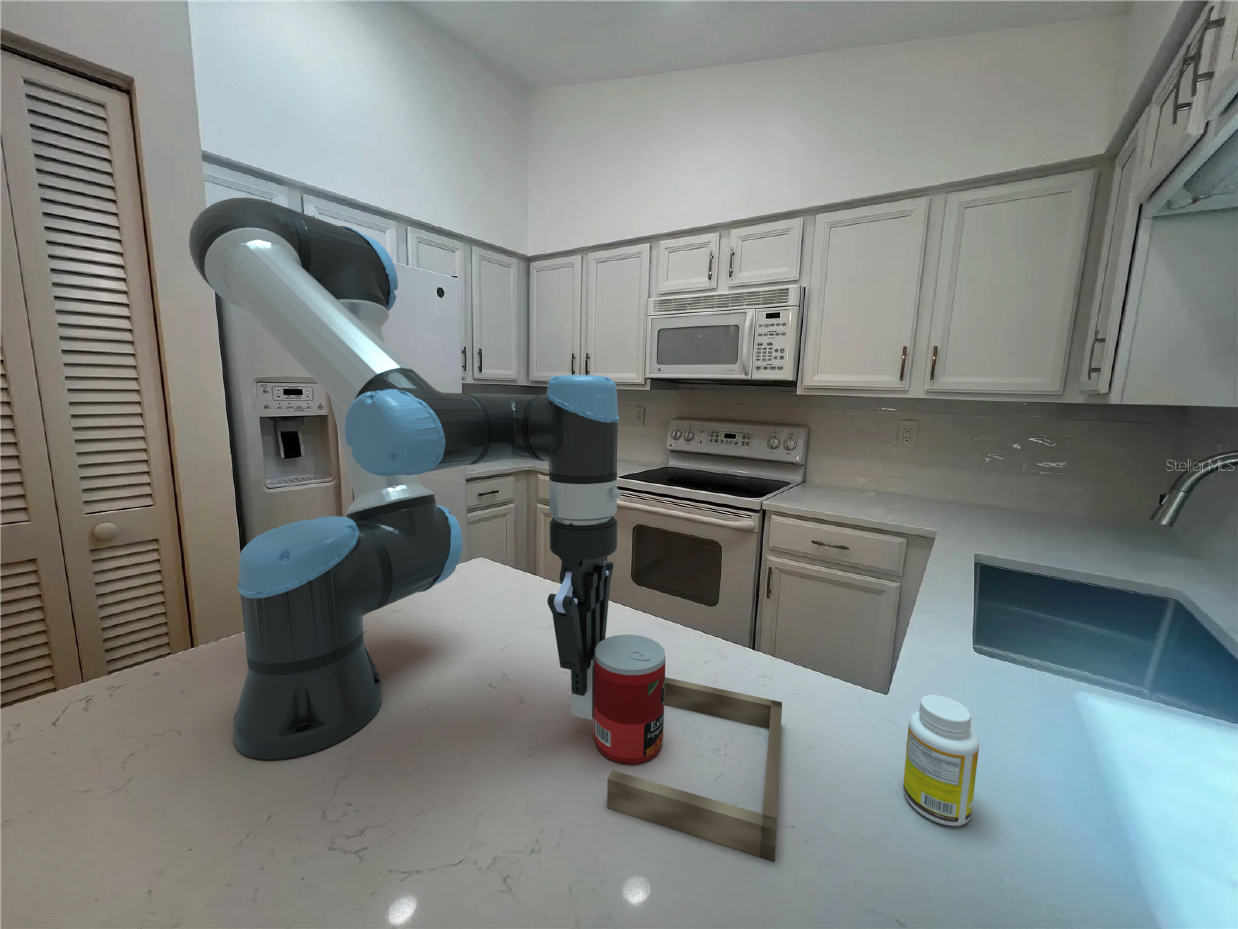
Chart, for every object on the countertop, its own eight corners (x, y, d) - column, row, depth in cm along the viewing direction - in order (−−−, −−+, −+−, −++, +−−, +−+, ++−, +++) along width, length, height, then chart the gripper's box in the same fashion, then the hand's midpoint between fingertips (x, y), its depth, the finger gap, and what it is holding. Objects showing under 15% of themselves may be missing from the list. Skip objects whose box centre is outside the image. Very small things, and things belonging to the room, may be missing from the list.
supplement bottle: (940, 780, 49) (950, 688, 48) (986, 827, 44) (998, 725, 42) (889, 783, 49) (898, 690, 47) (929, 832, 43) (940, 728, 42)
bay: (607, 807, 45) (607, 779, 45) (658, 697, 63) (659, 675, 62) (774, 861, 40) (776, 829, 40) (780, 725, 57) (782, 702, 57)
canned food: (659, 771, 50) (662, 673, 49) (585, 760, 51) (586, 664, 50) (666, 723, 57) (668, 637, 56) (601, 714, 59) (602, 630, 57)
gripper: (591, 535, 46) (591, 760, 49) (634, 507, 58) (632, 689, 61) (522, 527, 48) (526, 742, 51) (577, 502, 60) (578, 677, 63)
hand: (584, 713), depth 56 cm, fingers closed
